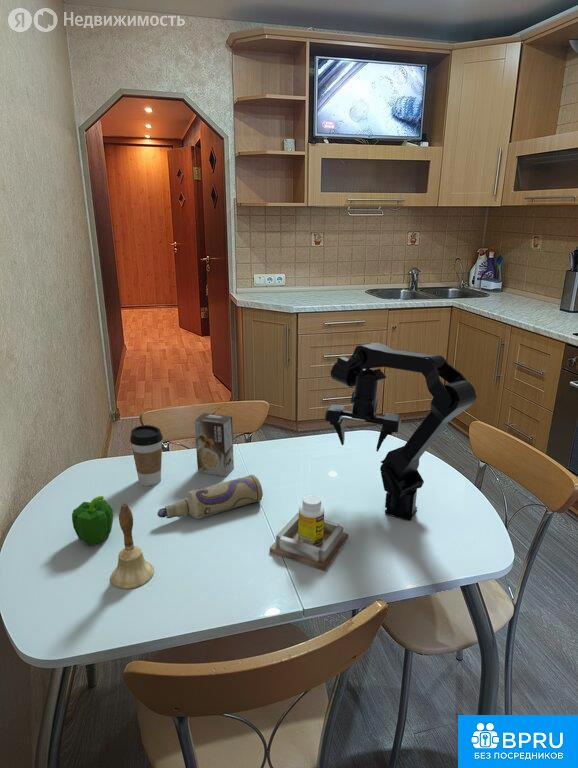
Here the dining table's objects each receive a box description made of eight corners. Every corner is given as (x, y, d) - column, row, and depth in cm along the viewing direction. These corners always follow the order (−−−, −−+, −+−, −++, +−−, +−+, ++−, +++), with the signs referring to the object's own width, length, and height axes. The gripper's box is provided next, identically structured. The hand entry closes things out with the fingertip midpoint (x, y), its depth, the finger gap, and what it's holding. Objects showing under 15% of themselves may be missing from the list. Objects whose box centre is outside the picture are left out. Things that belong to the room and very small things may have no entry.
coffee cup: (153, 470, 142) (149, 421, 137) (172, 479, 137) (168, 429, 132) (127, 481, 136) (122, 430, 131) (146, 491, 131) (141, 439, 126)
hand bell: (108, 592, 95) (100, 519, 90) (112, 564, 102) (105, 496, 98) (153, 585, 97) (147, 513, 92) (154, 559, 104) (148, 491, 99)
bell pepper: (72, 552, 106) (67, 511, 103) (77, 531, 113) (72, 492, 110) (114, 546, 108) (109, 506, 105) (116, 525, 116) (112, 487, 113)
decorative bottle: (251, 492, 131) (251, 469, 129) (263, 505, 125) (263, 482, 123) (153, 517, 120) (152, 492, 117) (162, 533, 113) (160, 508, 111)
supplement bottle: (316, 551, 106) (318, 508, 103) (293, 543, 108) (294, 502, 105) (327, 537, 110) (329, 496, 107) (304, 530, 113) (305, 490, 110)
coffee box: (235, 467, 144) (233, 415, 140) (226, 477, 139) (224, 424, 134) (206, 462, 147) (204, 412, 142) (196, 472, 141) (193, 420, 136)
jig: (348, 537, 112) (348, 524, 111) (325, 570, 101) (325, 556, 100) (296, 522, 118) (297, 509, 117) (269, 551, 107) (269, 538, 106)
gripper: (406, 387, 130) (399, 441, 135) (336, 377, 135) (332, 429, 140) (401, 402, 120) (394, 459, 125) (326, 390, 125) (322, 446, 130)
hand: (359, 447), depth 130 cm, fingers open, 9 cm apart
